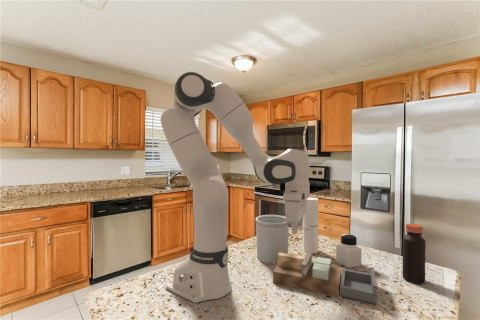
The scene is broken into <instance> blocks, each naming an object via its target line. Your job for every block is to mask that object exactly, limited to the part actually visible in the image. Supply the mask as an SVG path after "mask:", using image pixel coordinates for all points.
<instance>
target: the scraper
mask: <svg viewBox="0 0 480 320" xmlns="http://www.w3.org/2000/svg"><path fill="white" fill-rule="evenodd" d="M305 255H306V256H305ZM305 255H300V254H294V253H289V252H288V253H283V252H279V253H278V255H277V264H276V266H277V265H279V266H284V267H289V268H294V269H299V270H302V276H305V277H306V276H307V274H308V271H309V269H310V267H311V264H312V262H313V253H310V252H308V253H306V254H305Z"/></svg>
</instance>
